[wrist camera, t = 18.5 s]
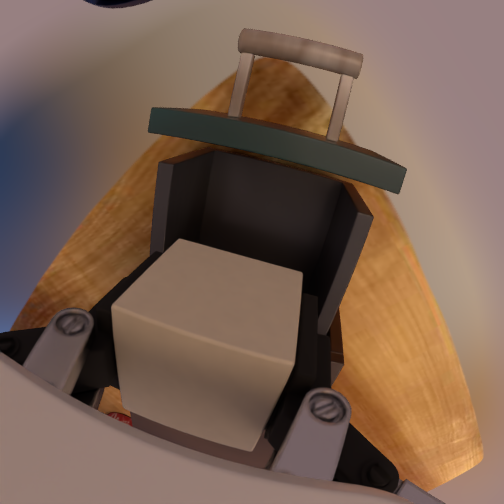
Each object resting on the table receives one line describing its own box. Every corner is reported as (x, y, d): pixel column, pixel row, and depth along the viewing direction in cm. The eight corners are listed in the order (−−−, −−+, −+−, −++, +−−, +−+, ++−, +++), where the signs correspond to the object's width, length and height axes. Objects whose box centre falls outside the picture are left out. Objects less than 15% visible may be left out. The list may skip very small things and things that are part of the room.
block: (178, 237, 11) (109, 305, 7) (303, 271, 10) (295, 365, 6) (169, 332, 12) (121, 408, 8) (271, 362, 12) (252, 453, 8)
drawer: (220, 43, 17) (173, 8, 10) (389, 83, 16) (433, 64, 9) (179, 279, 25) (136, 337, 18) (315, 317, 24) (312, 390, 17)
